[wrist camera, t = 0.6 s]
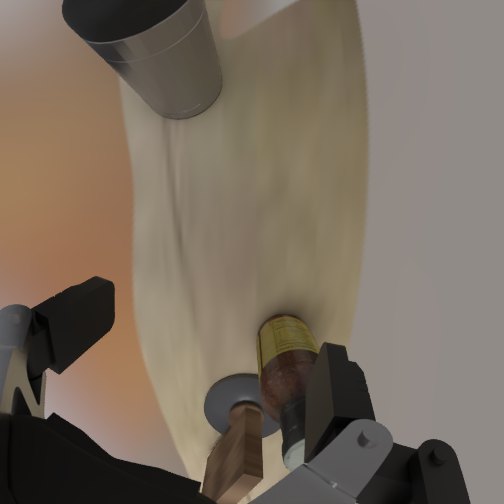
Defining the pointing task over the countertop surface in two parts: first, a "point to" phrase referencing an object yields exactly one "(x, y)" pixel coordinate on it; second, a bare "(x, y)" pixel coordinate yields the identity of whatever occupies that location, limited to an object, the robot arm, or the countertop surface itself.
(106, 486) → the robot arm
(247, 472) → the brown wooden block
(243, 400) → the base
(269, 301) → the countertop surface
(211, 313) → the countertop surface
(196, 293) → the countertop surface
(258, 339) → the sauce bottle
